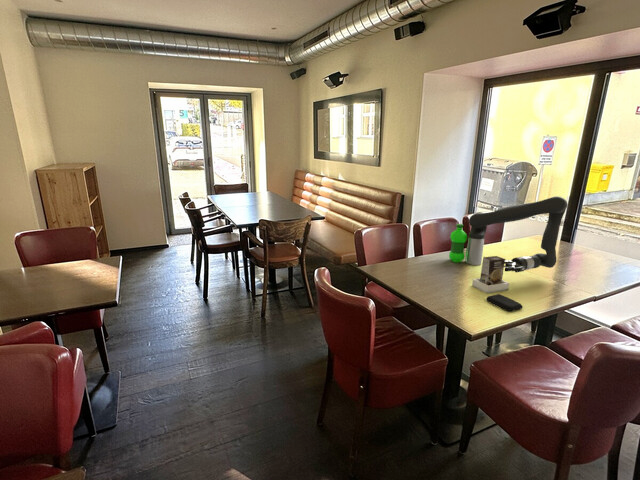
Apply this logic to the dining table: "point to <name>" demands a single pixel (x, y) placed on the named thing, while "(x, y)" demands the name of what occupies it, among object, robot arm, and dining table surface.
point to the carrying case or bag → (504, 302)
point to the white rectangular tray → (490, 286)
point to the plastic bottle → (457, 244)
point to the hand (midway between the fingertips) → (499, 266)
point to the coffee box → (492, 270)
